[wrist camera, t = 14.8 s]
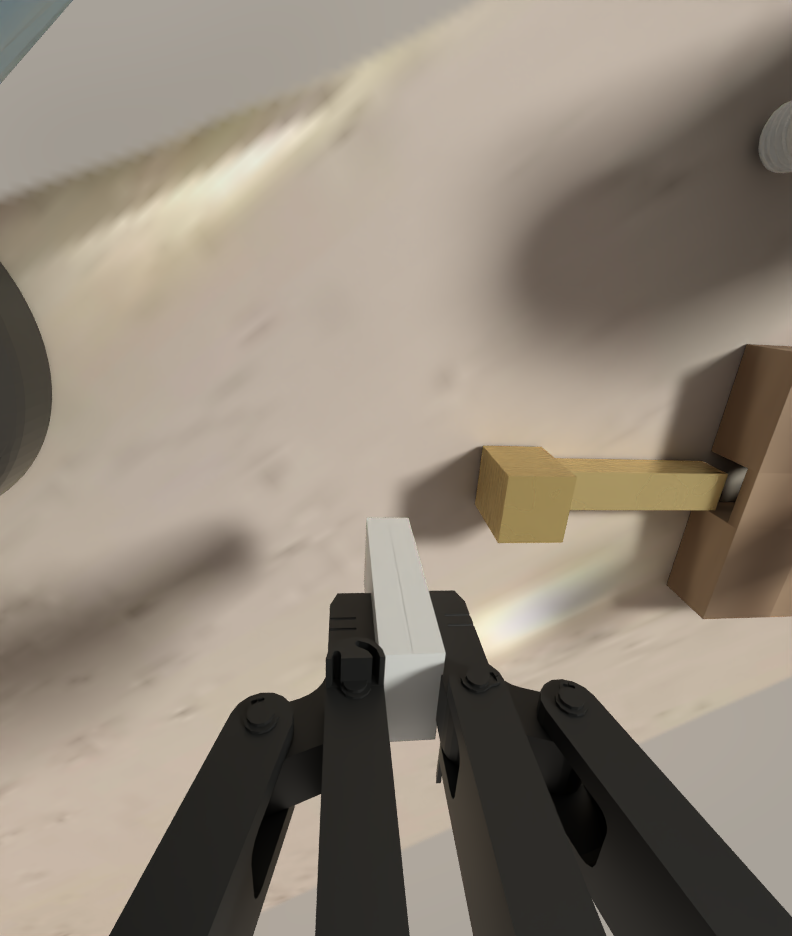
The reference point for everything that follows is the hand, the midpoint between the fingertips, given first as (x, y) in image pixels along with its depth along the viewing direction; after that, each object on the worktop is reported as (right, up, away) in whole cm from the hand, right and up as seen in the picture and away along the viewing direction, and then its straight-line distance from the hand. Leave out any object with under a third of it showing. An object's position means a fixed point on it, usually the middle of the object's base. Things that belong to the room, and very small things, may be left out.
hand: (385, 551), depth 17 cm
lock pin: (+10, +3, +7) cm, 13 cm away
